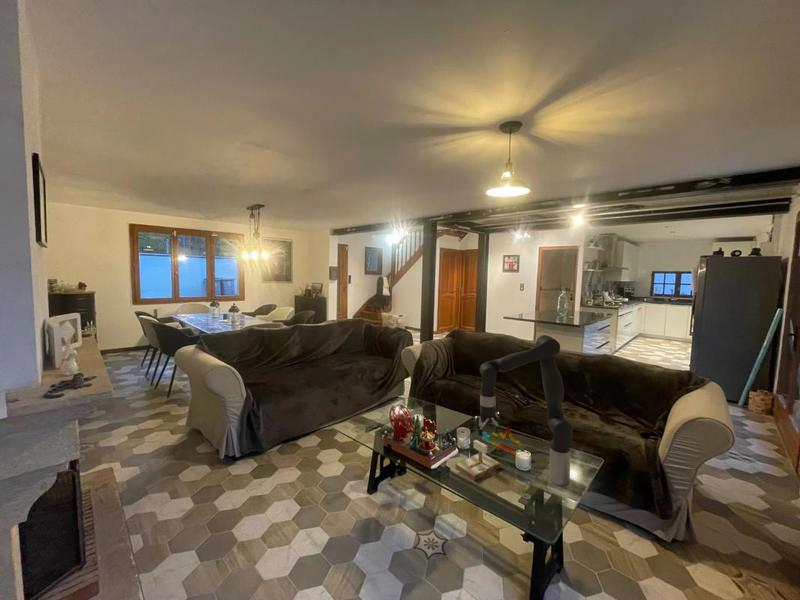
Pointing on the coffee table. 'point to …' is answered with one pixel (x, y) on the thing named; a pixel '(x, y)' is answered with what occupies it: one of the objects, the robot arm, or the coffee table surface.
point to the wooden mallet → (481, 448)
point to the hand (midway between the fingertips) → (487, 434)
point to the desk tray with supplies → (477, 466)
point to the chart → (499, 445)
